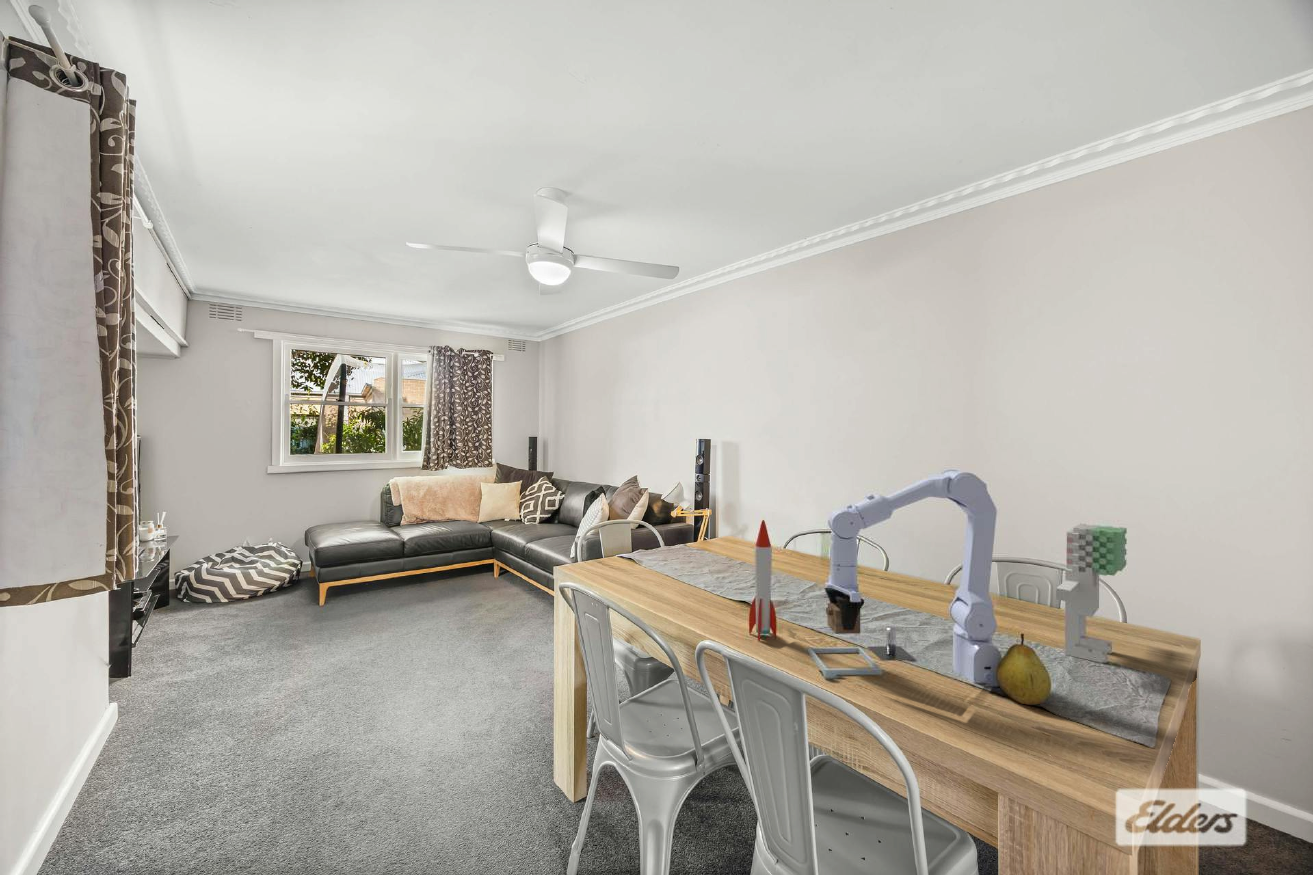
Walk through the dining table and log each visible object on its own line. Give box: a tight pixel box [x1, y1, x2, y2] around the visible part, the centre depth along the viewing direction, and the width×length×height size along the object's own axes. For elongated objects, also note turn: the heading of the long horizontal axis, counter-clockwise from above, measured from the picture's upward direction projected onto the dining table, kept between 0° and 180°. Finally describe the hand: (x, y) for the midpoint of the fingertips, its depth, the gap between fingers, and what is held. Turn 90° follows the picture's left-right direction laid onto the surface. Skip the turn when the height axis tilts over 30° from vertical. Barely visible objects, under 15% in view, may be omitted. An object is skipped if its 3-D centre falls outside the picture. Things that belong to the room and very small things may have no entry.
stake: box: [867, 626, 917, 661], centre depth 127 cm, size 8×8×7 cm
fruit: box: [996, 633, 1052, 706], centre depth 108 cm, size 9×9×12 cm
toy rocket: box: [748, 519, 778, 642], centre depth 141 cm, size 6×6×30 cm
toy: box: [1055, 523, 1127, 664], centre depth 129 cm, size 30×10×30 cm, turn 134°
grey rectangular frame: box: [807, 646, 883, 680], centre depth 122 cm, size 12×12×2 cm
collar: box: [825, 602, 861, 635], centre depth 122 cm, size 5×6×5 cm
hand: (843, 624), depth 122 cm, fingers closed on collar, 5 cm apart
